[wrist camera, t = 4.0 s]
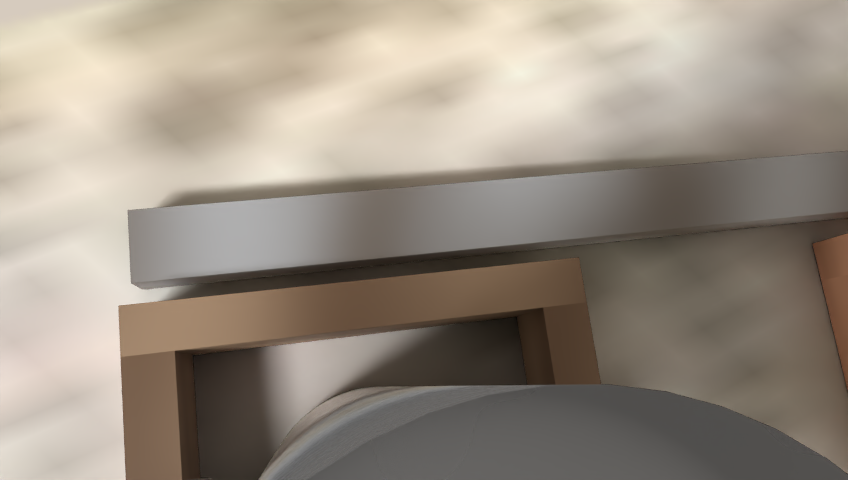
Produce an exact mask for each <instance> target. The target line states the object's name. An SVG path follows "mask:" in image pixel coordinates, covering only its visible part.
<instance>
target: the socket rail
mask: <svg viewBox="0 0 848 480" xmlns="http://www.w3.org/2000/svg"><path fill="white" fill-rule="evenodd" d="M840 218H848V151H840V152H828V153H815V154H803V155H791V156H779V157H767V158H755V159H743V160H731V161H718V162H706V163H694V164H682V165H670V166H658V167H646V168H634V169H621V170H609V171H597V172H585V173H573V174H561V175H549V176H536V177H524V178H512V179H500V180H488V181H476V182H464V183H452V184H439V185H427V186H415V187H403V188H391V189H379V190H367V191H355V192H342V193H330V194H318V195H306V196H294V197H282V198H270V199H257V200H245V201H233V202H221V203H209V204H197V205H185V206H173V207H160V208H148V209H136V210H128V229H129V250H130V272H131V283H132V284H134V285H135V286H137V287H139V288H141V289H153V288H163V287H172V286H182V285H192V284H202V283H212V282H222V281H231V280H241V279H251V278H261V277H271V276H280V275H290V274H300V273H310V272H320V271H330V270H339V269H349V268H359V267H369V266H379V265H389V264H398V263H408V262H418V261H428V260H438V259H447V258H457V257H467V256H477V255H487V254H497V253H506V252H516V251H526V250H536V249H546V248H556V247H565V246H575V245H585V244H595V243H605V242H614V241H624V240H634V239H644V238H654V237H664V236H673V235H683V234H693V233H703V232H713V231H723V230H732V229H742V228H752V227H762V226H772V225H781V224H791V223H801V222H811V221H821V220H831V219H840ZM813 248H814V253H815V257H816V261H817V265H818V269H819V273H820V277H821V282H822V286H823V290H824V294H825V298H826V302H827V306H828V311H829V315H830V319H831V323H832V327H833V331H834V336H835V340H836V344H837V348H838V352H839V356H840V360H841V365H842V369H843V373H844V377H845V381H846V385H847V389H848V233H847V234H844V235H840V236H837V237H833V238H830V239H827V240H823V241H820V242H816V243H813ZM118 307H119V330H120V353H121V377H122V400H123V423H124V447H125V470H126V480H188V479H199V478H200V465H199V449H198V433H197V417H196V401H195V385H194V369H193V355H199V354H207V353H216V352H224V351H232V350H241V349H249V348H258V347H266V346H274V345H283V344H291V343H300V342H308V341H316V340H325V339H333V338H342V337H350V336H358V335H367V334H375V333H384V332H392V331H400V330H409V329H417V328H426V327H434V326H442V325H451V324H459V323H468V322H476V321H484V320H493V319H501V318H510V317H517V321H518V327H519V334H520V340H521V347H522V353H523V360H524V366H525V373H526V379H527V385H594V384H601V382H600V376H599V370H598V364H597V359H596V353H595V347H594V341H593V336H592V330H591V324H590V318H589V313H588V307H587V301H586V295H585V290H584V284H583V278H582V272H581V267H580V261H579V257H578V258H568V259H558V260H549V261H539V262H530V263H520V264H511V265H501V266H492V267H482V268H473V269H463V270H454V271H444V272H435V273H425V274H416V275H406V276H397V277H387V278H378V279H368V280H359V281H349V282H340V283H330V284H321V285H311V286H302V287H292V288H283V289H273V290H263V291H254V292H244V293H235V294H225V295H216V296H206V297H197V298H187V299H178V300H168V301H159V302H149V303H140V304H130V305H121V306H118Z"/></svg>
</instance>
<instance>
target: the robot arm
mask: <svg viewBox="0 0 848 480" xmlns="http://www.w3.org/2000/svg"><path fill="white" fill-rule="evenodd" d="M188 480H212V479H210V478H199V479H188Z"/></svg>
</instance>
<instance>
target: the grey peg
mask: <svg viewBox="0 0 848 480" xmlns="http://www.w3.org/2000/svg"><path fill="white" fill-rule="evenodd" d="M258 480H848V474H847V473H845V472H844V471H843V470H841V469H840V468H839V467H837V466H836V465H835V464H834V463H832V462H831V461H830V460H828V459H827V458H825V457H823V456H822V455H820V454H818V453H817V452H815V451H813V450H811V449H810V448H808V447H806V446H805V445H803V444H801V443H799V442H798V441H796V440H794V439H793V438H791V437H789V436H787V435H786V434H784V433H782V432H780V431H779V430H777V429H775V428H773V427H770V426H768V425H765V424H763V423H761V422H758V421H756V420H753V419H751V418H749V417H746V416H744V415H742V414H739V413H737V412H734V411H732V410H730V409H727V408H725V407H722V406H719V405H715V404H711V403H707V402H704V401H700V400H696V399H692V398H689V397H685V396H681V395H677V394H674V393H670V392H666V391H658V390H650V389H642V388H634V387H626V386H618V385H610V384H594V385H490V386H386V387H367V388H360V389H356V390H352V391H349V392H345V393H342V394H340V395H338V396H335V397H333V398H331V399H329V400H327V401H325V402H324V403H322V404H320V405H319V406H317V407H316V408H314V409H313V410H312V411H310V412H309V413H308V414H307V415H305V416H304V417H303V418H302V419H301V420H300V421H299V422H298V423H297V424H296V425H295V426H294V427H293V428H292V430H291V431H290V432H289V434H288V435H287V436H286V437H285V439H284V440H283V442H282V443H281V445H280V446H279V448H278V449H277V451H276V452H275V454H274V455H273V457H272V459H271V460H270V462H269V463H268V465H267V466H266V468H265V469H264V471H263V472H262V474H261V476H260V477H259V479H258Z"/></svg>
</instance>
